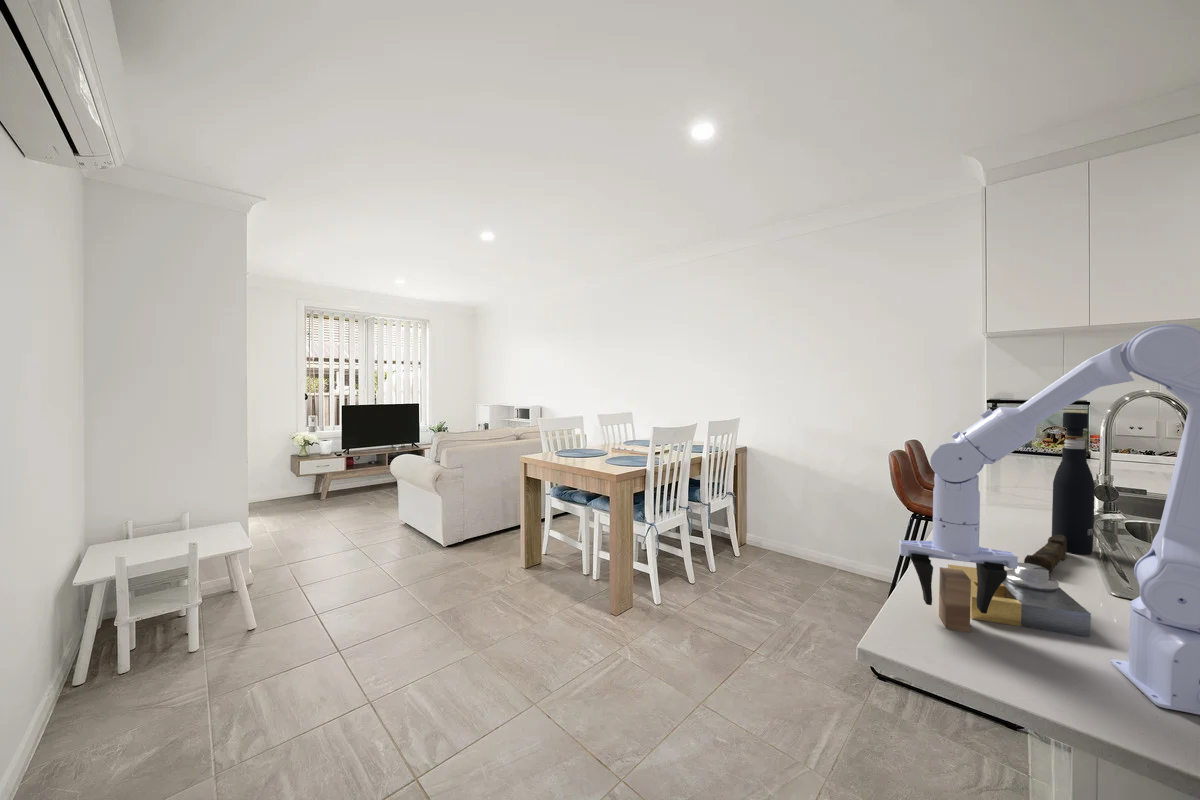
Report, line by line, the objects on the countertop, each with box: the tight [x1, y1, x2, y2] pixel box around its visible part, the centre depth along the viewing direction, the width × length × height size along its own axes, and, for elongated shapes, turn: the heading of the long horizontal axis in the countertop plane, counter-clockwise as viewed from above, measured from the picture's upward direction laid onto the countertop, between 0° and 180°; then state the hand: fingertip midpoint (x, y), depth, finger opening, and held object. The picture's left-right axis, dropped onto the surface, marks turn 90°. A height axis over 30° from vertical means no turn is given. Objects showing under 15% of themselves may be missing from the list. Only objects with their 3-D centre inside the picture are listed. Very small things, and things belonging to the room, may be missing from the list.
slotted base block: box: [947, 562, 1092, 638], centre depth 77 cm, size 14×14×6 cm
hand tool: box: [1023, 535, 1067, 576], centre depth 95 cm, size 19×4×5 cm, turn 122°
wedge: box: [938, 566, 971, 634], centre depth 72 cm, size 4×3×8 cm
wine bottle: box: [1051, 411, 1096, 556], centre depth 102 cm, size 6×6×30 cm
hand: (954, 606), depth 72 cm, fingers open, 6 cm apart
